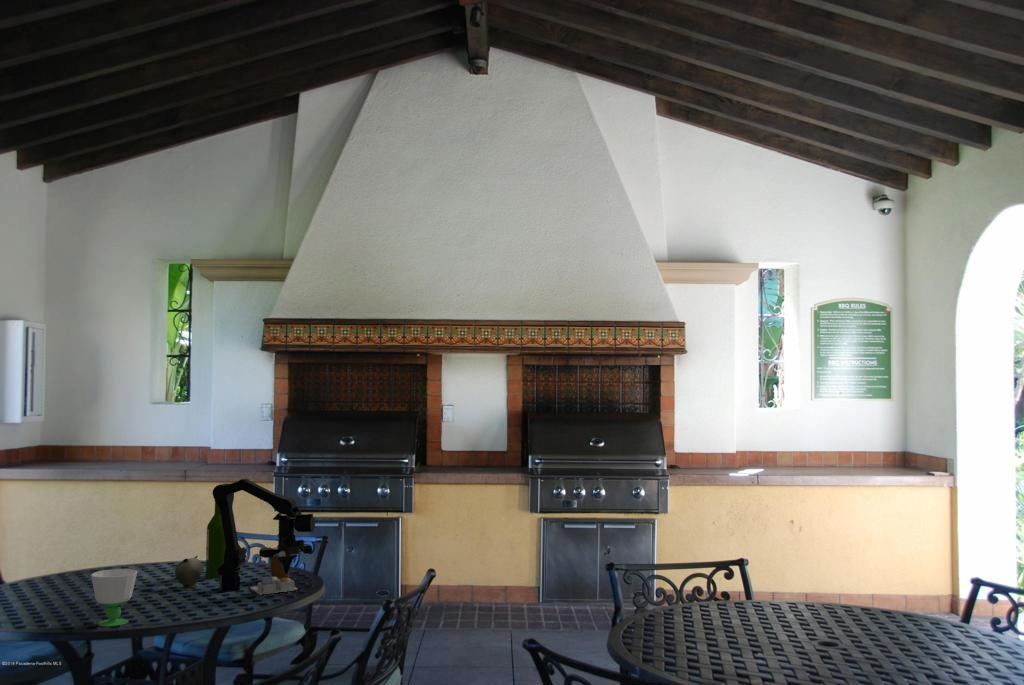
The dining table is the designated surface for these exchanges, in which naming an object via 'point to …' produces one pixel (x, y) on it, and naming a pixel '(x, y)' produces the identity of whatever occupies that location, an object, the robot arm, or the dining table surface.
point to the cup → (113, 592)
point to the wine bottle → (214, 545)
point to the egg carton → (274, 587)
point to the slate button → (266, 580)
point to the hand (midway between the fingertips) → (285, 574)
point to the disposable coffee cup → (277, 568)
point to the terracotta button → (285, 580)
